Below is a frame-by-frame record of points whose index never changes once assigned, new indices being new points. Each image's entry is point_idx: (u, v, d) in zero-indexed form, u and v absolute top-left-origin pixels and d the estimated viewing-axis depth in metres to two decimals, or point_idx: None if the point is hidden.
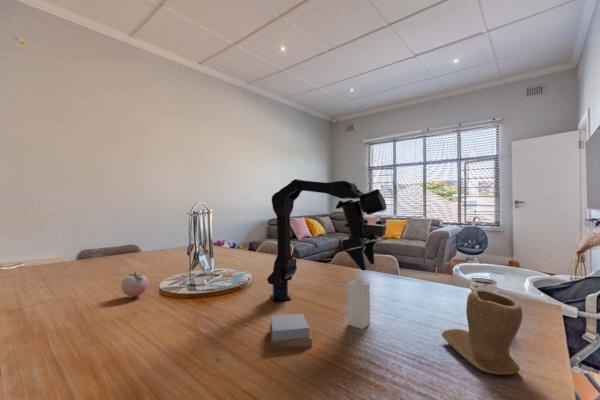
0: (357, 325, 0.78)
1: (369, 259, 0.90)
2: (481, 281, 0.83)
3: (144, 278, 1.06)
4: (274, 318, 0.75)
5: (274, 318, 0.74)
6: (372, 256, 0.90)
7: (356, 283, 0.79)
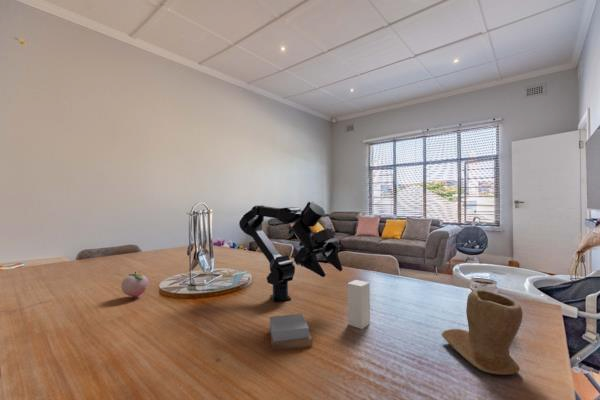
0: (357, 325, 0.78)
1: (337, 267, 0.91)
2: (481, 281, 0.83)
3: (144, 278, 1.06)
4: (273, 319, 0.74)
5: (272, 319, 0.74)
6: (338, 263, 0.90)
7: (357, 283, 0.80)
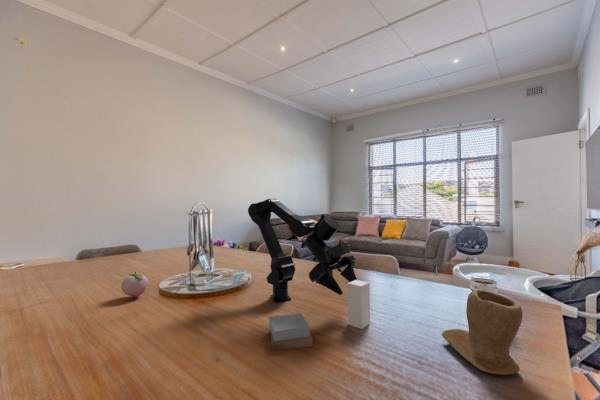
0: (357, 325, 0.78)
1: None
2: (481, 281, 0.83)
3: (144, 278, 1.06)
4: (273, 318, 0.74)
5: (272, 319, 0.74)
6: (354, 279, 0.86)
7: (356, 283, 0.79)
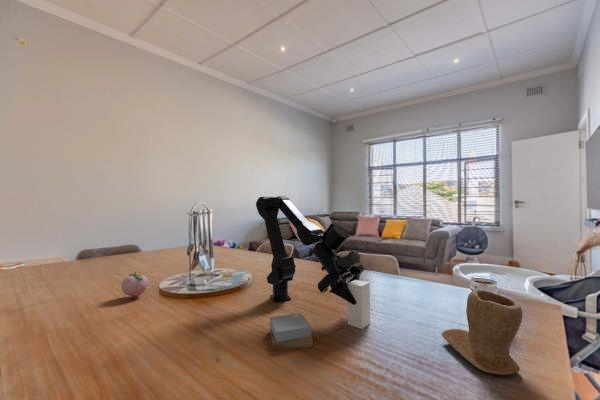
0: (357, 325, 0.78)
1: None
2: (481, 281, 0.83)
3: (144, 278, 1.06)
4: (273, 319, 0.74)
5: (273, 319, 0.74)
6: None
7: (357, 283, 0.79)
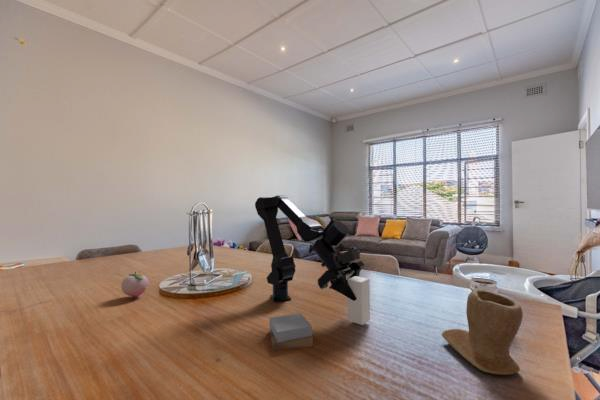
0: (357, 321, 0.78)
1: None
2: (481, 281, 0.83)
3: (144, 278, 1.06)
4: (273, 319, 0.74)
5: (273, 319, 0.74)
6: None
7: (357, 279, 0.80)
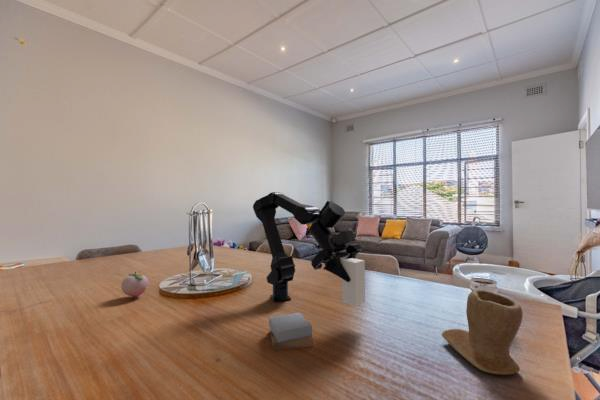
0: (351, 302, 0.77)
1: None
2: (480, 281, 0.83)
3: (144, 278, 1.06)
4: (273, 319, 0.74)
5: (273, 319, 0.74)
6: None
7: (351, 260, 0.78)
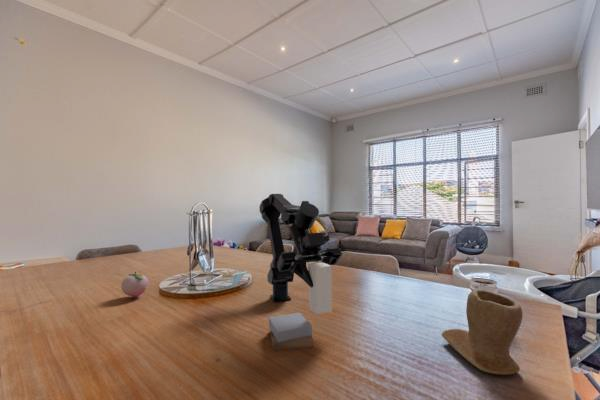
0: (314, 309, 0.72)
1: None
2: (480, 281, 0.83)
3: (144, 278, 1.06)
4: (273, 319, 0.74)
5: (273, 319, 0.74)
6: None
7: (316, 265, 0.73)
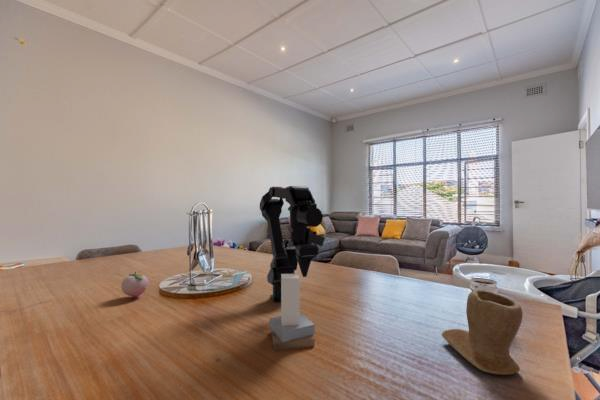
0: (281, 320, 0.71)
1: (293, 265, 0.92)
2: (481, 281, 0.83)
3: (144, 278, 1.06)
4: (274, 320, 0.73)
5: (274, 320, 0.73)
6: (296, 262, 0.93)
7: (286, 276, 0.72)
